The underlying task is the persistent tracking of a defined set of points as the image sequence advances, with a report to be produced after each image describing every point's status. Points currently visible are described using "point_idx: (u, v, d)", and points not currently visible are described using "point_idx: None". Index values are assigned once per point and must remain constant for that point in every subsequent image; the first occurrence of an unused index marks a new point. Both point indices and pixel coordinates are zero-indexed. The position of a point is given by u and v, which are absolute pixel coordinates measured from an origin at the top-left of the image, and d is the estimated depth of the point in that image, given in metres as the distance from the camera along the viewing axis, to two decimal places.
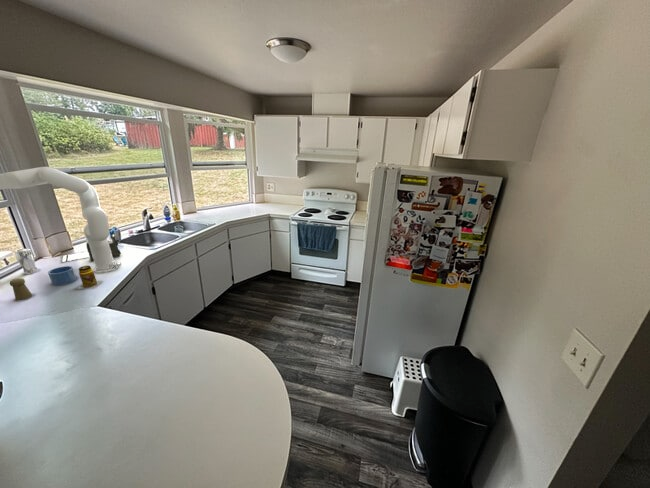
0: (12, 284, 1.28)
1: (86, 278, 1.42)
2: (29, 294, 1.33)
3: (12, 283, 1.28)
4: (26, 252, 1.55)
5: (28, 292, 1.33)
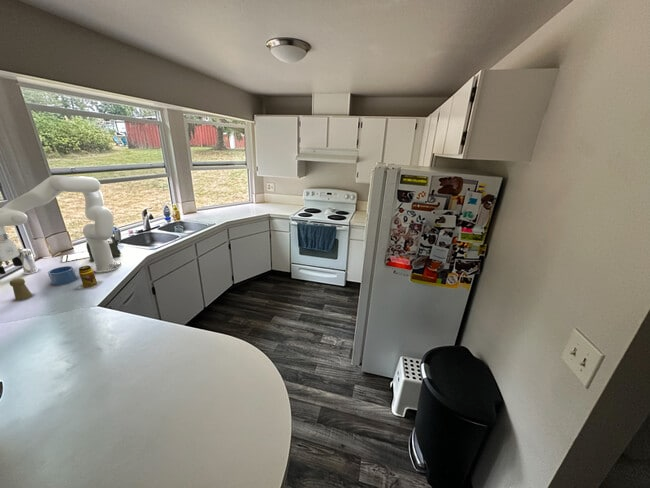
0: (12, 284, 1.28)
1: (86, 278, 1.42)
2: (29, 294, 1.33)
3: (12, 283, 1.28)
4: (26, 252, 1.55)
5: (28, 292, 1.33)
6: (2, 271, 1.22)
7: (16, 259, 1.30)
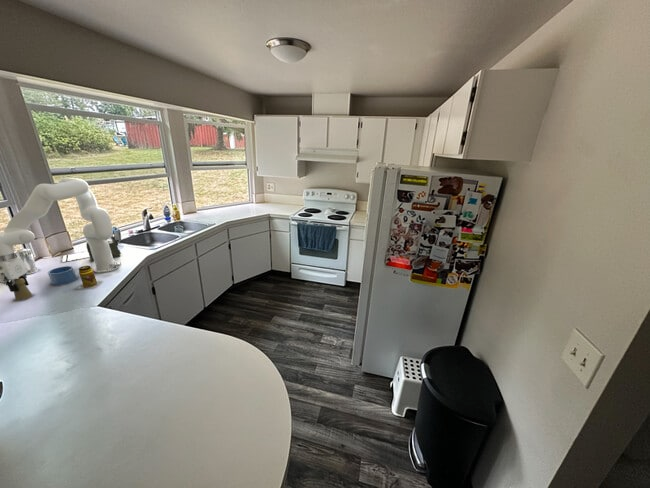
0: None
1: (86, 278, 1.42)
2: (29, 294, 1.33)
3: None
4: (26, 252, 1.55)
5: (28, 292, 1.33)
6: (16, 288, 1.28)
7: None
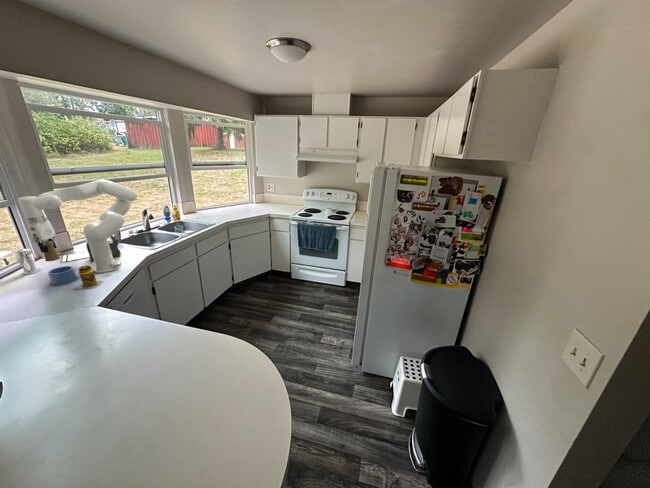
0: None
1: (86, 278, 1.42)
2: (57, 256, 1.44)
3: None
4: (26, 252, 1.55)
5: (56, 254, 1.44)
6: (46, 250, 1.39)
7: None
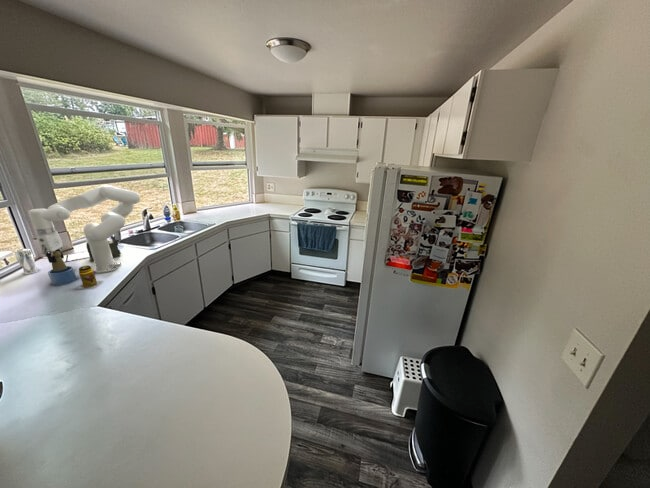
0: None
1: (86, 278, 1.42)
2: (64, 266, 1.48)
3: None
4: (26, 252, 1.55)
5: (64, 264, 1.48)
6: (54, 260, 1.43)
7: None
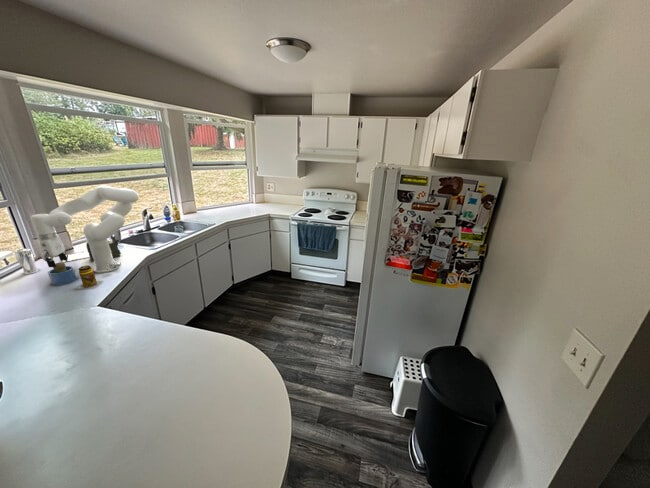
0: (55, 267, 1.45)
1: (86, 278, 1.42)
2: None
3: None
4: (26, 252, 1.55)
5: None
6: (53, 264, 1.42)
7: (62, 254, 1.50)
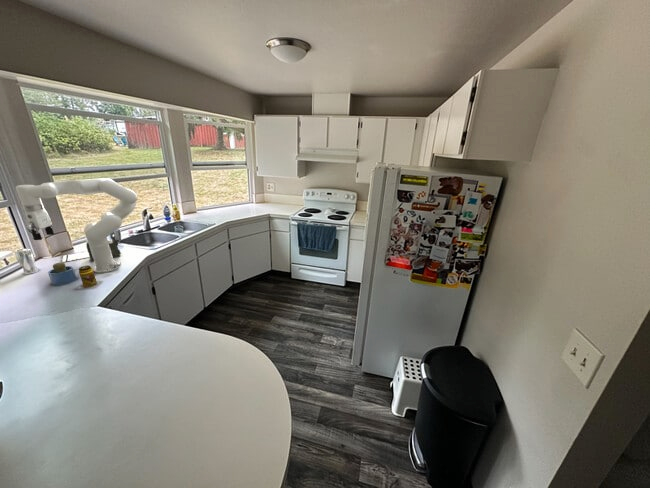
0: (55, 267, 1.45)
1: (86, 278, 1.42)
2: None
3: (55, 266, 1.45)
4: (26, 252, 1.55)
5: None
6: (39, 237, 1.38)
7: (48, 228, 1.46)
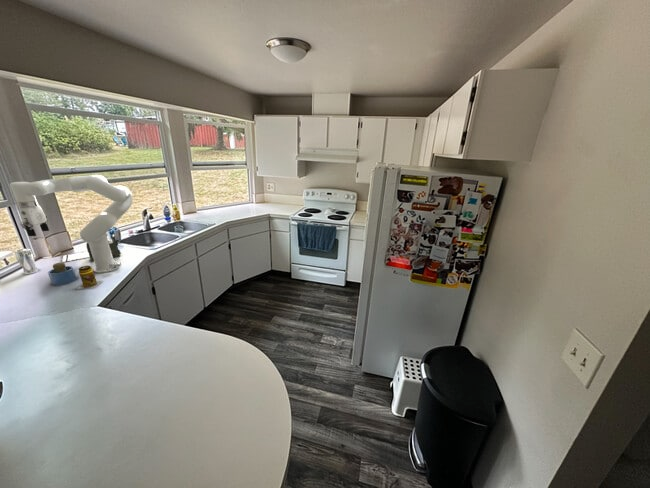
0: (55, 267, 1.45)
1: (86, 278, 1.42)
2: None
3: (55, 266, 1.45)
4: (26, 252, 1.55)
5: None
6: (33, 233, 1.41)
7: (43, 225, 1.49)
